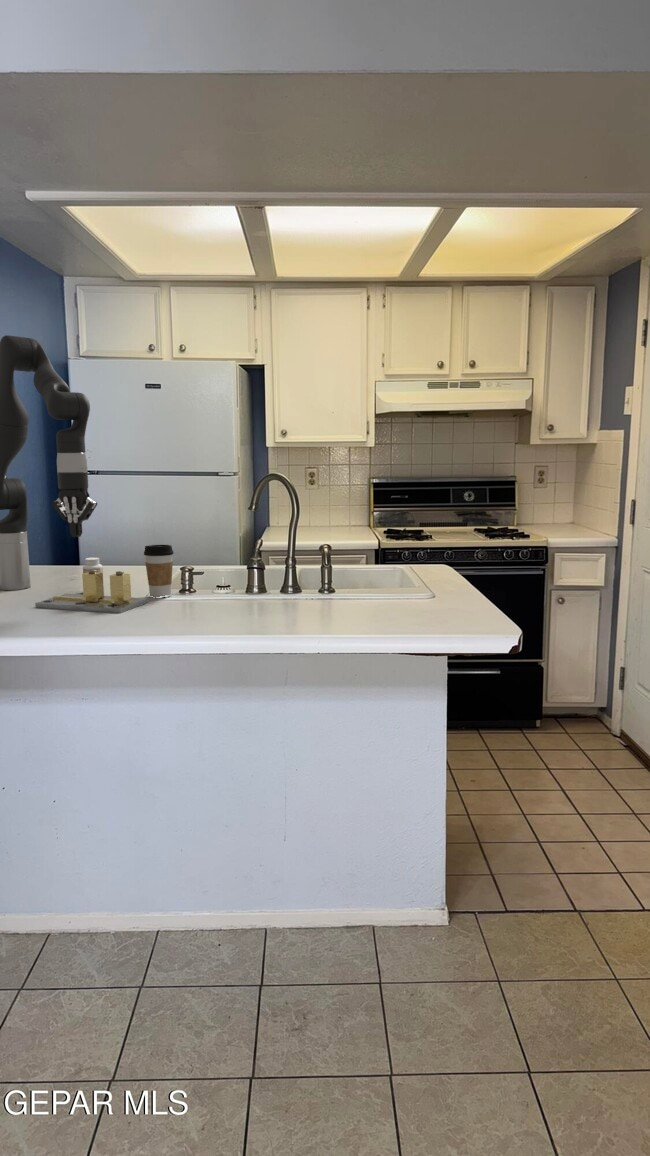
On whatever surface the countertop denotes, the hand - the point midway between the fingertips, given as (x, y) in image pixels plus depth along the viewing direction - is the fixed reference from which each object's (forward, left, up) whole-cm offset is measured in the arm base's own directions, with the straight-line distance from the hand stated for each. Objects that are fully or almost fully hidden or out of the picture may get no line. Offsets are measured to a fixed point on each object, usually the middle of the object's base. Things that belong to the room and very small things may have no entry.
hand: (76, 536), depth 203 cm
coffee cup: (+13, +20, -19) cm, 31 cm away
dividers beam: (+1, +3, -18) cm, 18 cm away
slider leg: (+2, +3, -18) cm, 18 cm away
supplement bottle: (-9, +20, -19) cm, 29 cm away
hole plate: (+1, +4, -19) cm, 20 cm away
